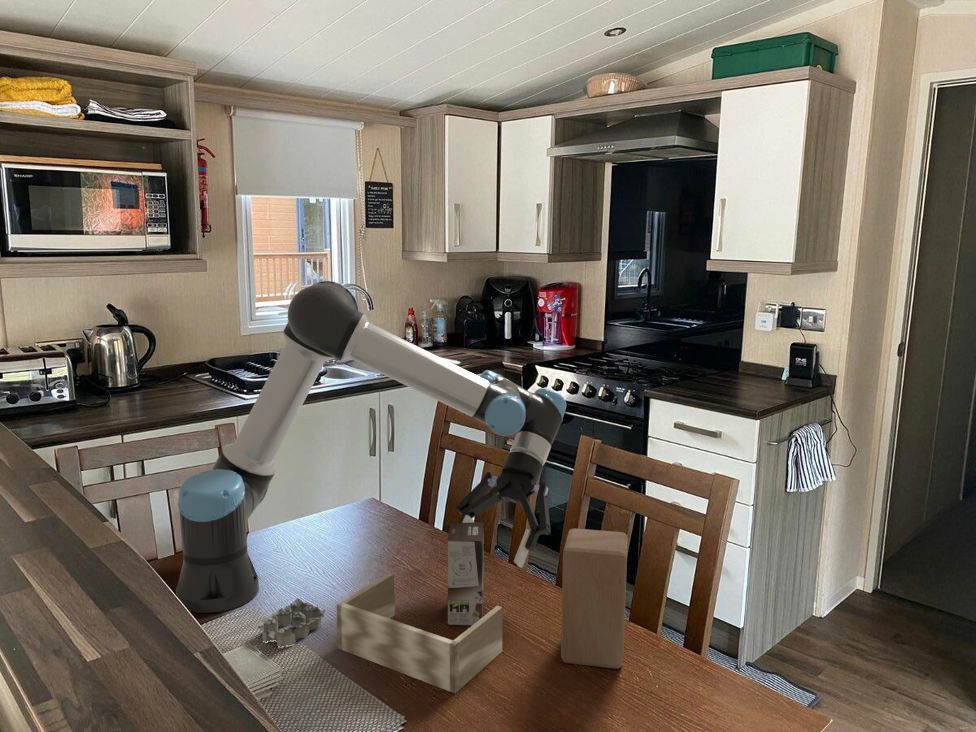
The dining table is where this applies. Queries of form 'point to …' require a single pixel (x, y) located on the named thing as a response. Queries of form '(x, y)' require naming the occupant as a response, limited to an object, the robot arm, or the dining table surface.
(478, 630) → the wooden u-shaped frame
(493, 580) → the dining table surface
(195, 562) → the robot arm
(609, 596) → the block
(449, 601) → the coffee box
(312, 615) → the egg carton
